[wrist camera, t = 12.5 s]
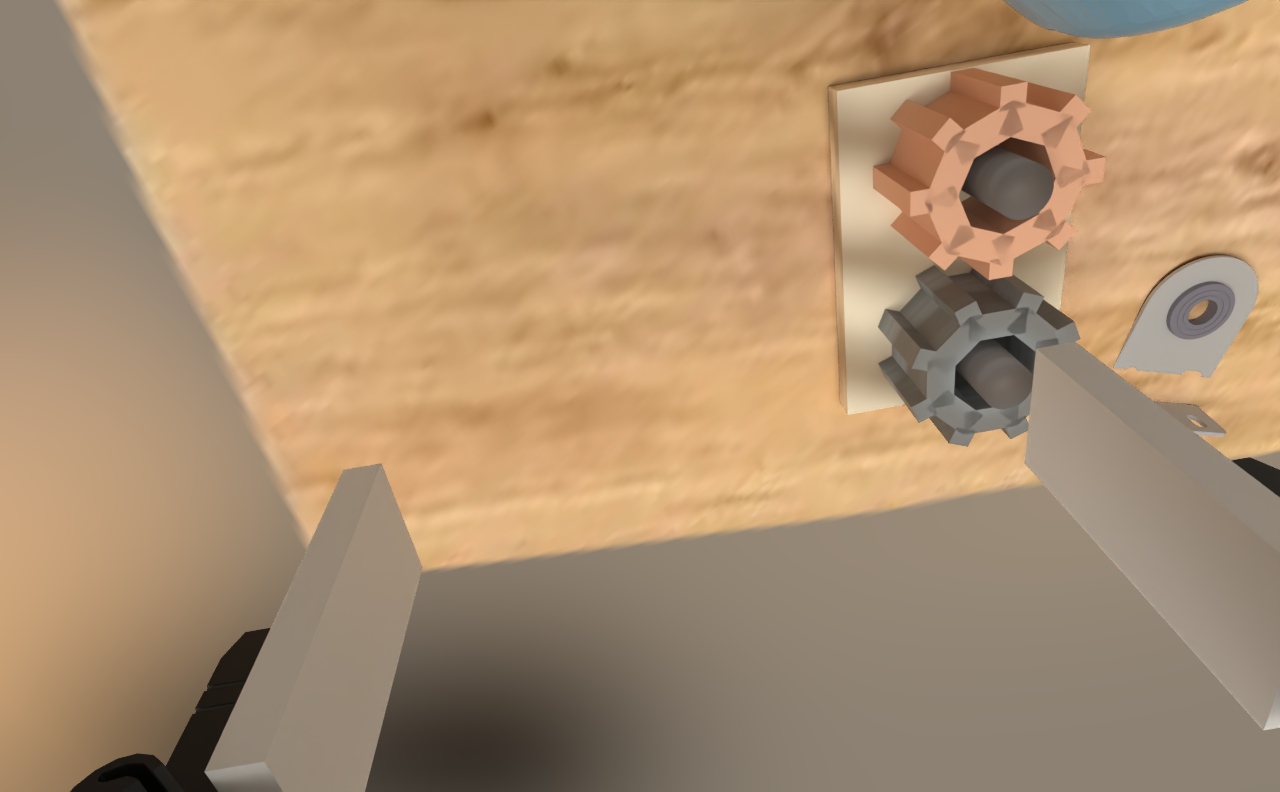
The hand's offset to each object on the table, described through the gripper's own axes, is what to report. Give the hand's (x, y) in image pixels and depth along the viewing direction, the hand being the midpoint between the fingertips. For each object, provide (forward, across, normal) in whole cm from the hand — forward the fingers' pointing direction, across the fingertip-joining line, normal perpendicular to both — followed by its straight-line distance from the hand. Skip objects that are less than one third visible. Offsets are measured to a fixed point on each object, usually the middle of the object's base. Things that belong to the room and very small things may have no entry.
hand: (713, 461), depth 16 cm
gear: (+25, +16, -2) cm, 30 cm away
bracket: (+27, +30, -16) cm, 44 cm away
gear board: (+27, +16, -7) cm, 32 cm away
